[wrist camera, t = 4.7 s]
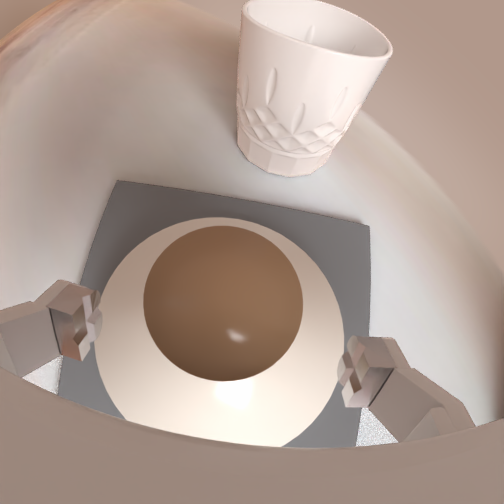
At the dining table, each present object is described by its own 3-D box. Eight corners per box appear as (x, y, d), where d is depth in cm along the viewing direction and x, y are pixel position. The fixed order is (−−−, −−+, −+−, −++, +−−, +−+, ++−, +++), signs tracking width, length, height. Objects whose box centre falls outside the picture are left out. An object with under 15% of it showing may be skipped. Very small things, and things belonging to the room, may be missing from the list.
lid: (88, 423, 11) (-28, 460, 3) (133, 212, 16) (84, 88, 8) (320, 460, 12) (424, 530, 4) (339, 247, 17) (429, 148, 8)
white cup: (227, 104, 21) (239, -11, 12) (323, 111, 22) (363, 11, 13) (228, 184, 18) (245, 40, 9) (345, 188, 19) (418, 76, 10)
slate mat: (58, 439, 11) (54, 441, 10) (119, 185, 17) (117, 180, 17) (341, 487, 12) (346, 490, 11) (365, 230, 18) (369, 225, 18)
